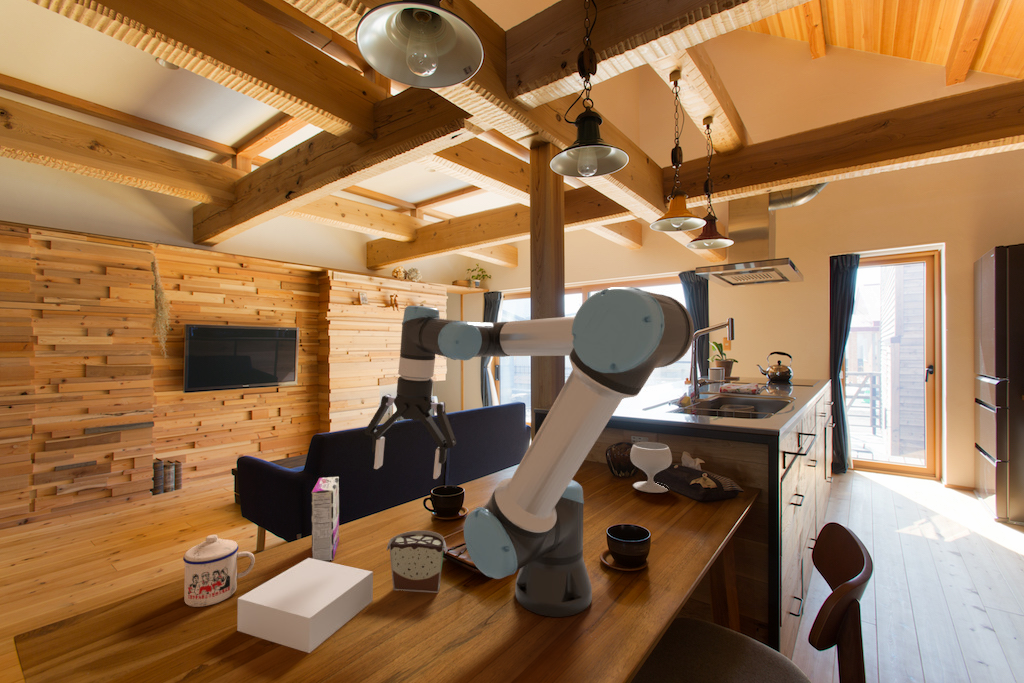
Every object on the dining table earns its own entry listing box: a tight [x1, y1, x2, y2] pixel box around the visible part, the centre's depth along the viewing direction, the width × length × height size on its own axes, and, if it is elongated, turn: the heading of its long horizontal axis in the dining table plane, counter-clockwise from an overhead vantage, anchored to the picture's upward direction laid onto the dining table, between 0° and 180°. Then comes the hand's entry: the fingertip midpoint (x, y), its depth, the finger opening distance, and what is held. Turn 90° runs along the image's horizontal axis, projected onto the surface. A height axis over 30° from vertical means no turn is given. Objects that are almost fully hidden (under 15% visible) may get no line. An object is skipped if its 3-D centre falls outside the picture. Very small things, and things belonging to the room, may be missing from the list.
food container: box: [386, 530, 447, 594], centre depth 95 cm, size 12×6×10 cm, turn 84°
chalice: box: [629, 441, 673, 494], centre depth 159 cm, size 14×14×15 cm
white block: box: [236, 557, 374, 654], centre depth 83 cm, size 16×16×6 cm
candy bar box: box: [311, 476, 340, 562], centre depth 109 cm, size 11×5×16 cm, turn 14°
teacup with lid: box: [182, 534, 256, 608], centre depth 90 cm, size 12×9×12 cm
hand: (407, 471), depth 100 cm, fingers open, 13 cm apart
